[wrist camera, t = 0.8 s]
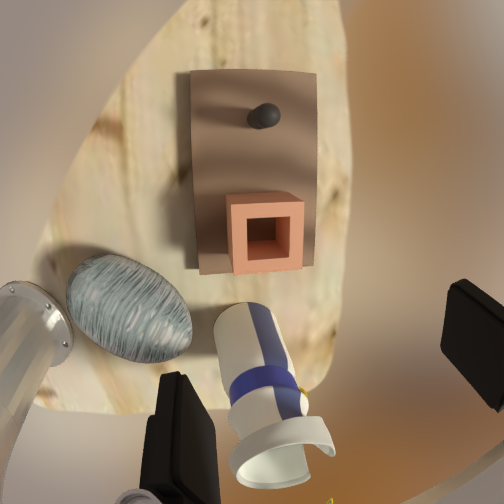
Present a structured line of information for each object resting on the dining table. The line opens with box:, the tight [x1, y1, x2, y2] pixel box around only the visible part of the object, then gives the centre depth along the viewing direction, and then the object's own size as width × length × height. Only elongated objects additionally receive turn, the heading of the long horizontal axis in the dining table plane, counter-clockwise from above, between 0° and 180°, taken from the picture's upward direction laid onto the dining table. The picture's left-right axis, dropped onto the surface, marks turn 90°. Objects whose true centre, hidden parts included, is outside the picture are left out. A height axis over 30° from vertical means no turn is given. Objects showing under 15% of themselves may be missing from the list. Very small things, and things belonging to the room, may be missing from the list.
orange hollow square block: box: [226, 192, 304, 275], centre depth 28 cm, size 6×6×5 cm
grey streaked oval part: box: [66, 254, 192, 363], centre depth 29 cm, size 14×10×10 cm
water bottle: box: [213, 302, 335, 504], centre depth 24 cm, size 8×9×25 cm
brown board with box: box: [190, 69, 317, 275], centre depth 26 cm, size 20×12×8 cm, turn 1°
